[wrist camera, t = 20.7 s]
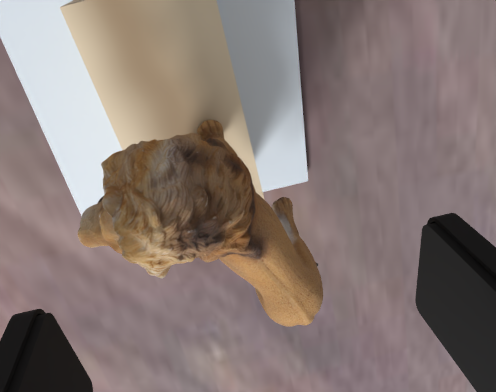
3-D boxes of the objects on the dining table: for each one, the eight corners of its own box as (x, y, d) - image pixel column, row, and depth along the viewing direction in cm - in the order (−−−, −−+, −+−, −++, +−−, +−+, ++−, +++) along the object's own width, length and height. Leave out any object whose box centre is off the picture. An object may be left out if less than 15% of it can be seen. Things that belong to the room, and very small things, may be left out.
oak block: (193, -34, 21) (208, -33, 16) (247, 175, 28) (270, 222, 23) (81, -4, 20) (59, 7, 15) (164, 201, 27) (168, 255, 22)
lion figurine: (79, 146, 18) (32, 277, 11) (154, 58, 17) (163, 134, 9) (283, 284, 25) (343, 421, 18) (346, 229, 24) (438, 350, 17)
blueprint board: (283, -79, 21) (289, -81, 21) (304, 176, 30) (309, 182, 29) (-23, -27, 20) (-30, -27, 19) (91, 227, 28) (89, 235, 27)
